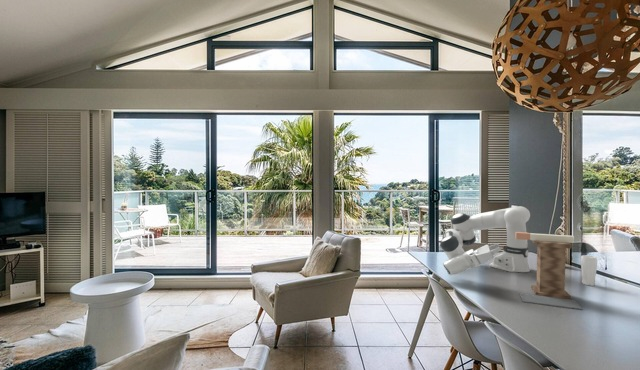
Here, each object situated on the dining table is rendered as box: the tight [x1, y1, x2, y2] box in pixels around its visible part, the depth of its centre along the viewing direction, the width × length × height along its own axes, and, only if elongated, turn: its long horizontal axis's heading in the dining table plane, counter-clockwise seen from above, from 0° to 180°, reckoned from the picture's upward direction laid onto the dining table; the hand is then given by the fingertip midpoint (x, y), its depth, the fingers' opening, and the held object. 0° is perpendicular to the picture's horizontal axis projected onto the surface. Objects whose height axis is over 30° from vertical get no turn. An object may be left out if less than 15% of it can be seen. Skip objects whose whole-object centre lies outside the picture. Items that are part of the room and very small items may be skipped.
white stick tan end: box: [515, 232, 575, 244], centre depth 164 cm, size 24×3×3 cm, turn 66°
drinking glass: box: [580, 254, 598, 287], centre depth 178 cm, size 7×7×15 cm
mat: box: [519, 293, 583, 311], centre depth 153 cm, size 22×11×1 cm, turn 66°
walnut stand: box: [530, 240, 573, 300], centre depth 164 cm, size 14×12×26 cm
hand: (499, 246), depth 172 cm, fingers open, 8 cm apart
